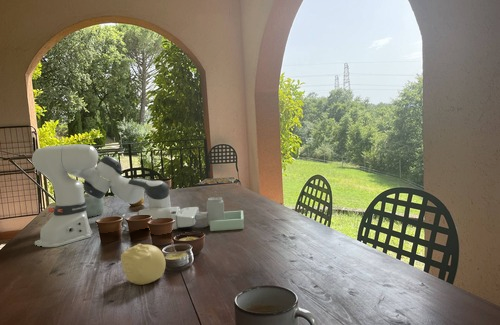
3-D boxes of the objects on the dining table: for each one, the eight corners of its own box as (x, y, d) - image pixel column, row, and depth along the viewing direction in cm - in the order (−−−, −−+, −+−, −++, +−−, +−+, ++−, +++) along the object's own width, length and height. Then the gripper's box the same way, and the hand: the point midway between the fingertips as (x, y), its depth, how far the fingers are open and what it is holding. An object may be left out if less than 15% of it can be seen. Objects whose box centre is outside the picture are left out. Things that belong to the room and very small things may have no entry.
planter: (109, 212, 213) (107, 192, 212) (98, 217, 201) (95, 196, 200) (87, 212, 214) (85, 193, 213) (75, 218, 202) (72, 197, 201)
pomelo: (117, 282, 114) (113, 246, 113) (153, 269, 123) (150, 235, 121) (136, 292, 106) (132, 253, 105) (174, 278, 114) (170, 242, 113)
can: (223, 227, 167) (221, 199, 165) (206, 227, 168) (204, 200, 166) (226, 222, 174) (224, 196, 173) (210, 223, 175) (208, 196, 174)
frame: (210, 230, 162) (209, 221, 162) (212, 221, 178) (212, 212, 178) (244, 228, 163) (243, 219, 162) (243, 219, 179) (243, 210, 178)
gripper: (179, 217, 181) (209, 216, 181) (172, 230, 161) (205, 228, 161) (178, 204, 180) (208, 202, 181) (170, 215, 160) (204, 213, 160)
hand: (207, 214), depth 171 cm, fingers closed, pressing on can
